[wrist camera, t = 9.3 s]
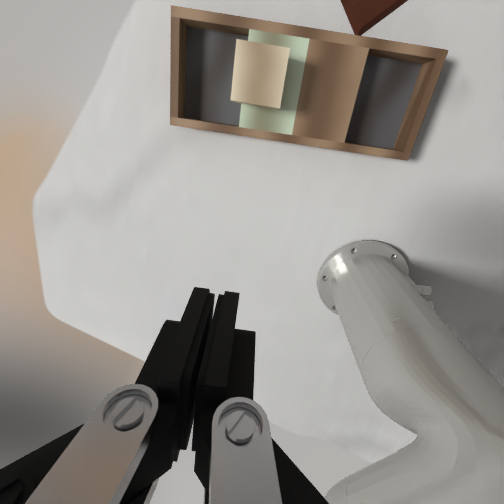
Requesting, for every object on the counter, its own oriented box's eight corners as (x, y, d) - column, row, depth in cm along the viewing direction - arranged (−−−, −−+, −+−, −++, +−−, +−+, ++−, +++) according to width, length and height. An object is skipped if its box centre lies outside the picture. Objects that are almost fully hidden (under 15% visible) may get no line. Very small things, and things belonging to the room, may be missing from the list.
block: (286, 57, 27) (290, 47, 23) (277, 109, 29) (279, 108, 25) (240, 49, 27) (236, 38, 23) (234, 102, 29) (230, 100, 25)
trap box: (431, 56, 29) (448, 49, 26) (396, 157, 33) (407, 160, 30) (179, 16, 28) (170, 5, 25) (177, 124, 32) (170, 124, 30)
